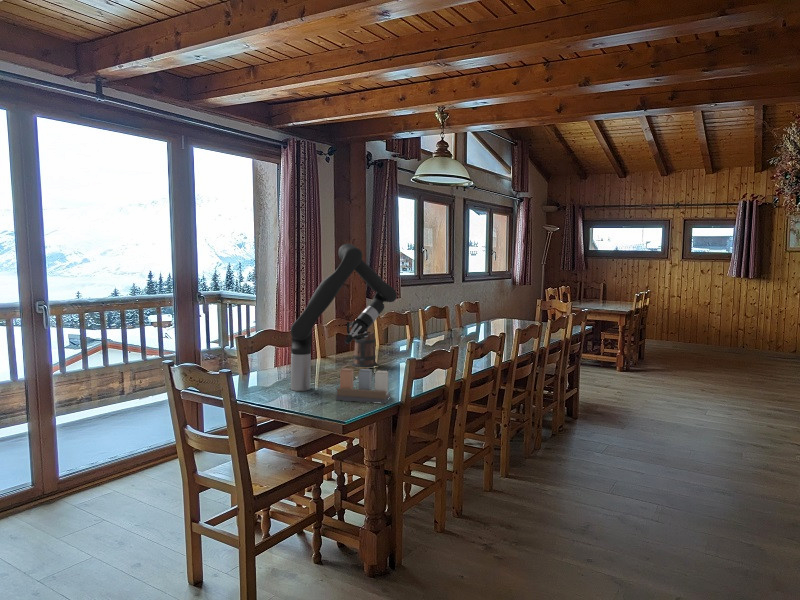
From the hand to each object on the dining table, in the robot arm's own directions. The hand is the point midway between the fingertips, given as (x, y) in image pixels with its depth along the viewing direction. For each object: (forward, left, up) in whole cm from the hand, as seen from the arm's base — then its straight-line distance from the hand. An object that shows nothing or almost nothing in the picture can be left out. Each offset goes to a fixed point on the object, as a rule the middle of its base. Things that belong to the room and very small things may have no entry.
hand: (346, 342), depth 258 cm
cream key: (+20, +15, -20) cm, 32 cm away
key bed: (+17, +7, -23) cm, 29 cm away
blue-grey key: (+15, +8, -20) cm, 27 cm away
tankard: (-54, +14, -23) cm, 60 cm away
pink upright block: (+14, 0, -20) cm, 25 cm away
